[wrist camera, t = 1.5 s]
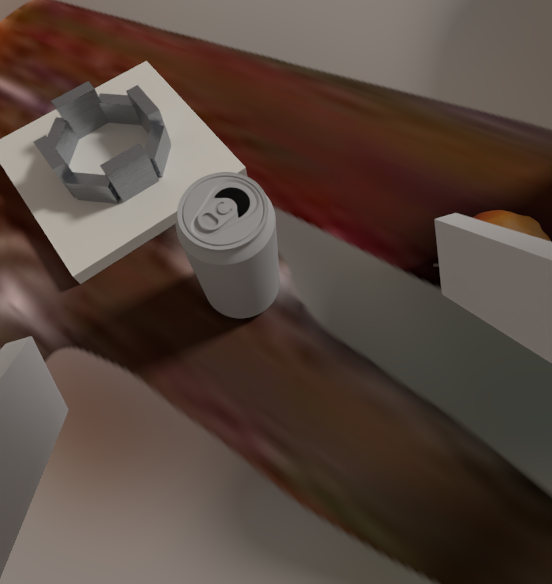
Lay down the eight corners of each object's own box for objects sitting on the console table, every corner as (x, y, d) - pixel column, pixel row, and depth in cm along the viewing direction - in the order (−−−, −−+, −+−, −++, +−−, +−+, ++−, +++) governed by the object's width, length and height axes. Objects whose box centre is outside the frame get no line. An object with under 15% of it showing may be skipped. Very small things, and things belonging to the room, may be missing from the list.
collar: (133, 98, 45) (119, 64, 42) (189, 162, 42) (179, 132, 38) (40, 149, 43) (17, 119, 39) (91, 222, 40) (70, 195, 36)
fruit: (464, 201, 39) (543, 182, 32) (504, 274, 41) (589, 274, 33) (398, 252, 37) (464, 246, 30) (442, 327, 39) (516, 340, 31)
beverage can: (295, 284, 38) (296, 204, 27) (242, 337, 36) (221, 274, 25) (242, 240, 40) (223, 149, 29) (190, 289, 38) (149, 211, 27)
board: (150, 72, 49) (146, 60, 47) (247, 177, 43) (245, 167, 41) (-3, 155, 45) (-12, 145, 43) (80, 283, 39) (72, 276, 37)
